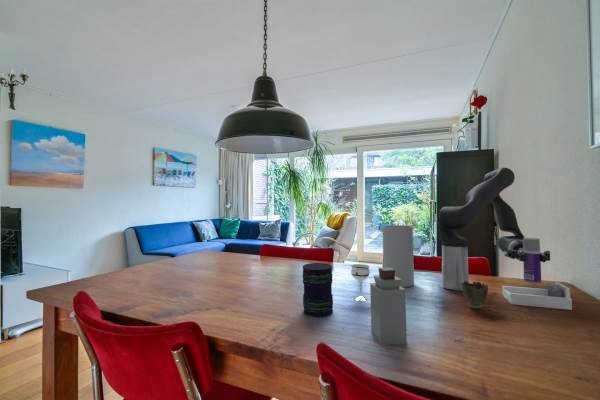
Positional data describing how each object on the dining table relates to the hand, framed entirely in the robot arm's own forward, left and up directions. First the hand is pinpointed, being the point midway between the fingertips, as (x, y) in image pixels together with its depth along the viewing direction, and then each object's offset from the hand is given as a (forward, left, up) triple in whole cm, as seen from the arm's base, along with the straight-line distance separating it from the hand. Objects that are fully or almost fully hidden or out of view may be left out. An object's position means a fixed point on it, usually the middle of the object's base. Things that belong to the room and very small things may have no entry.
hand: (534, 258), depth 95 cm
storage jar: (-67, -31, -16) cm, 76 cm away
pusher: (+6, +2, -15) cm, 16 cm away
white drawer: (+1, +2, -15) cm, 16 cm away
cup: (-19, -11, -16) cm, 27 cm away
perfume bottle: (-44, -42, -16) cm, 63 cm away
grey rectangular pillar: (-44, +11, -16) cm, 48 cm away
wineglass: (-56, -14, -16) cm, 60 cm away
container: (0, +3, -9) cm, 9 cm away
